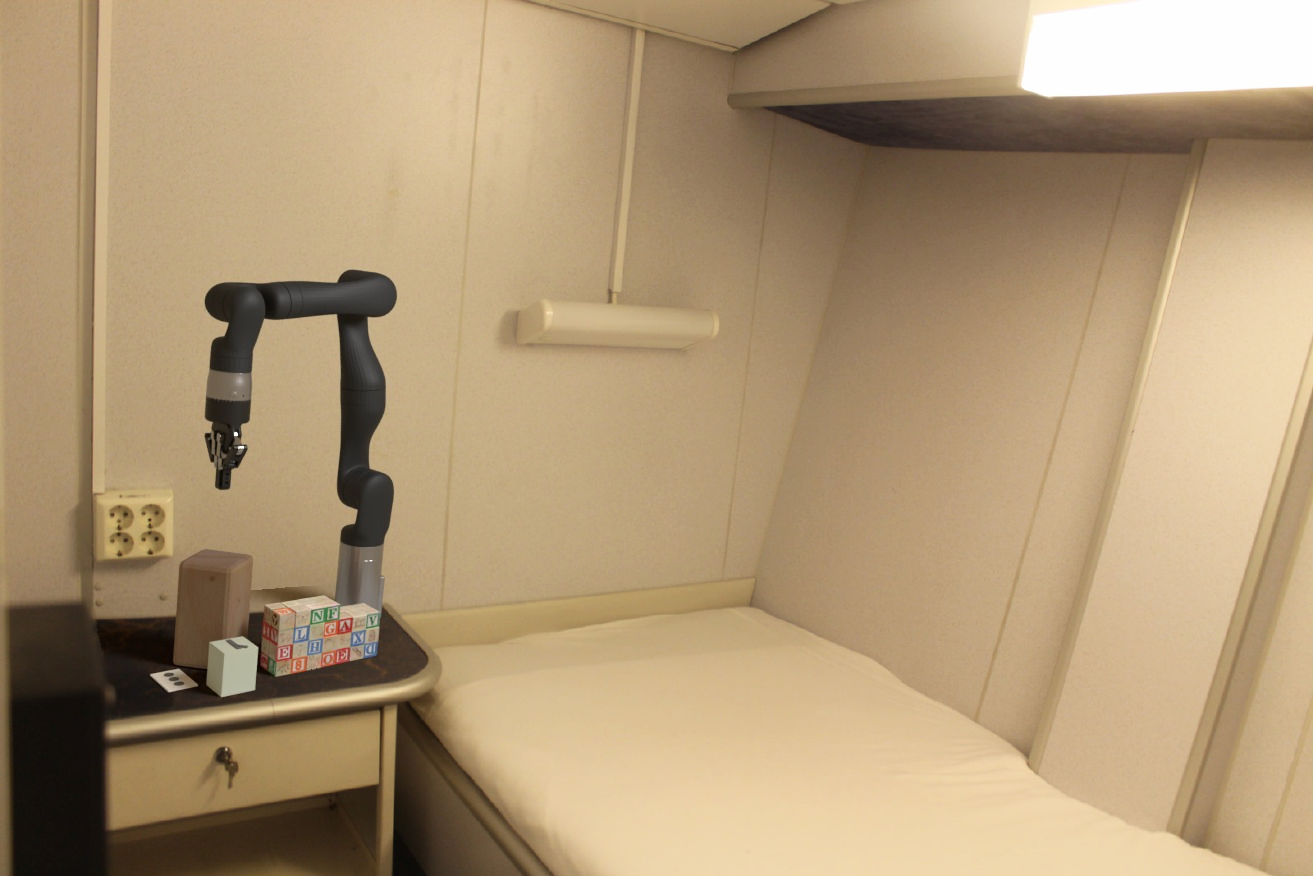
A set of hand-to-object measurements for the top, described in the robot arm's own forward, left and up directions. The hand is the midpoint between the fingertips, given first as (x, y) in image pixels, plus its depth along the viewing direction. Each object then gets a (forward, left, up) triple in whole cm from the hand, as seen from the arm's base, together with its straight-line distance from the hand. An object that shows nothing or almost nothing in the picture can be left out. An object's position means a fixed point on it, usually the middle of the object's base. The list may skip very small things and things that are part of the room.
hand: (222, 488), depth 180 cm
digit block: (+2, +13, -33) cm, 36 cm away
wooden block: (0, 0, -33) cm, 33 cm away
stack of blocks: (-17, +10, -33) cm, 39 cm away
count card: (+9, +6, -33) cm, 35 cm away
